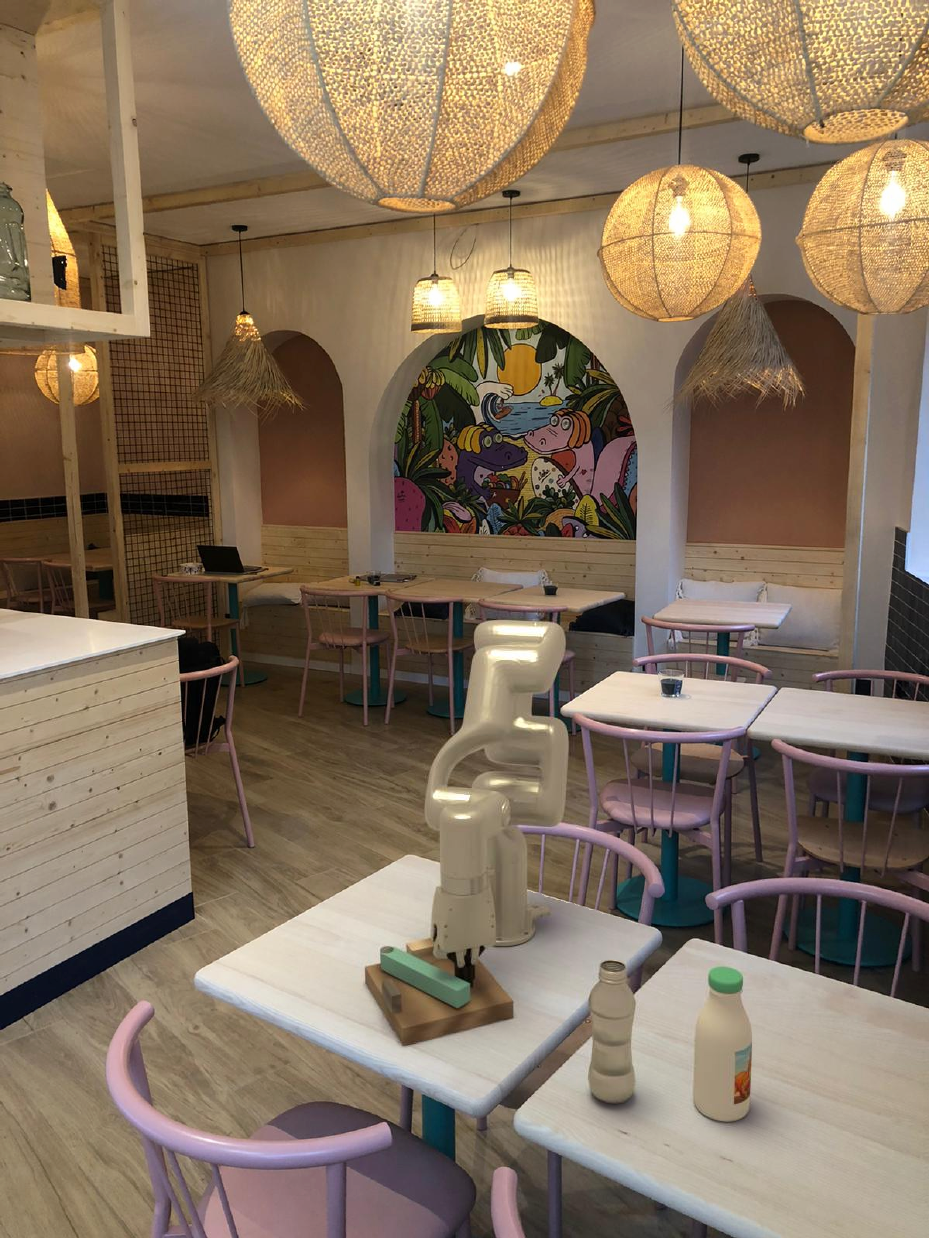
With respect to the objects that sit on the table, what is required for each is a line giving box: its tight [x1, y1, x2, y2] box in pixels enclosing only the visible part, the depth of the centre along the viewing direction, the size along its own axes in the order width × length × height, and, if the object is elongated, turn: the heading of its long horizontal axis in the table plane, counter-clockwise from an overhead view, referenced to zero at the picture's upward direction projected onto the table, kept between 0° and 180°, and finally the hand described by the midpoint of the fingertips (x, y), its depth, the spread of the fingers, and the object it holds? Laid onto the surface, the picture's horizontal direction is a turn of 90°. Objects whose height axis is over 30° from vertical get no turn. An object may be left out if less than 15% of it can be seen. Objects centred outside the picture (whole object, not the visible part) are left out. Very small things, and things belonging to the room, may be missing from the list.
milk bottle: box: [692, 966, 753, 1123], centre depth 136 cm, size 8×8×20 cm
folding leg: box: [379, 945, 470, 1008], centre depth 163 cm, size 19×3×3 cm, turn 47°
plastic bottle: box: [587, 959, 637, 1105], centre depth 138 cm, size 6×7×20 cm
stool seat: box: [364, 937, 514, 1047], centre depth 164 cm, size 19×20×6 cm
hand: (464, 984), depth 161 cm, fingers closed
